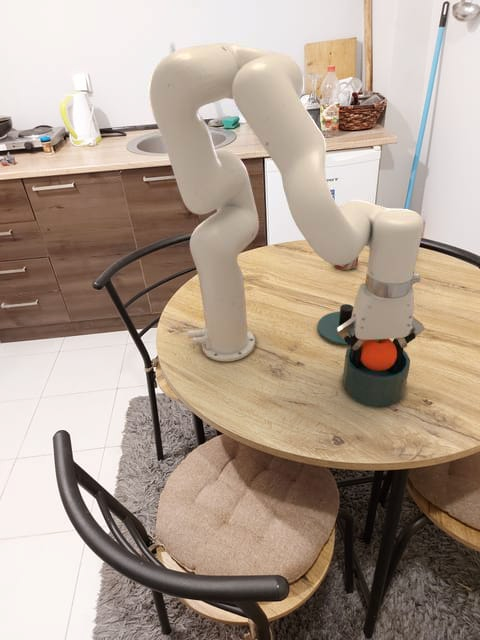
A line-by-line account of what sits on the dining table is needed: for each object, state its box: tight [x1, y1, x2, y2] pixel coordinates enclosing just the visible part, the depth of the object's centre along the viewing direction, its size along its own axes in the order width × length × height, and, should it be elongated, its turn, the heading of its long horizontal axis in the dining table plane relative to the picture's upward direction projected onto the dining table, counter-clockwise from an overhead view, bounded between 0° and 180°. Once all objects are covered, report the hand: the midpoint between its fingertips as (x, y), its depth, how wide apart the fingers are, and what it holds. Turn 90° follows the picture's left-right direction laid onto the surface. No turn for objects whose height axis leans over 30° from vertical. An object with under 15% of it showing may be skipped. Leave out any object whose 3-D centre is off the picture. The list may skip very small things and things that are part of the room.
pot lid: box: [317, 303, 355, 346], centre depth 101 cm, size 13×13×7 cm
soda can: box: [334, 256, 359, 271], centre depth 126 cm, size 7×7×12 cm
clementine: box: [360, 339, 397, 371], centre depth 82 cm, size 8×7×7 cm
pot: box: [342, 345, 411, 408], centre depth 85 cm, size 12×12×8 cm
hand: (375, 359), depth 84 cm, fingers closed on clementine, 6 cm apart
